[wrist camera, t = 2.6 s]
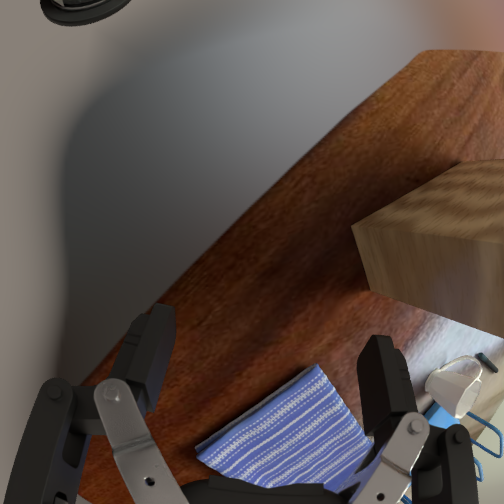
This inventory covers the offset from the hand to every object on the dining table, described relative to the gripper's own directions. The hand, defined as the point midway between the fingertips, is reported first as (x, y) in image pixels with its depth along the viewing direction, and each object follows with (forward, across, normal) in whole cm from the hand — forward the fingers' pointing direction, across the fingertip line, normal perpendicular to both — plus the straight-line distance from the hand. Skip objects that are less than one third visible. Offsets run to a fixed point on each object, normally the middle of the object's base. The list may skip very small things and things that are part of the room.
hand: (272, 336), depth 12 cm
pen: (+22, -51, +31) cm, 63 cm away
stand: (+26, -20, +5) cm, 33 cm away
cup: (+17, -32, +26) cm, 45 cm away
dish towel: (+6, -9, +30) cm, 32 cm away
